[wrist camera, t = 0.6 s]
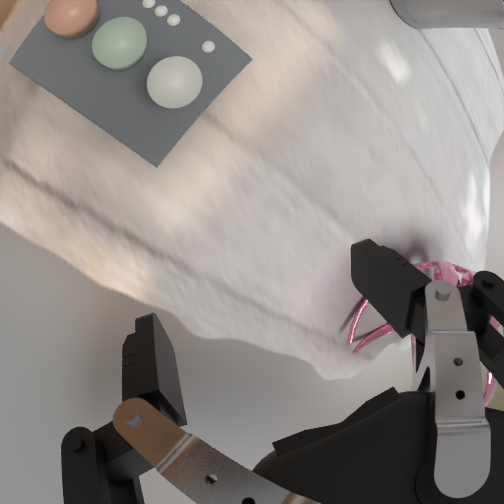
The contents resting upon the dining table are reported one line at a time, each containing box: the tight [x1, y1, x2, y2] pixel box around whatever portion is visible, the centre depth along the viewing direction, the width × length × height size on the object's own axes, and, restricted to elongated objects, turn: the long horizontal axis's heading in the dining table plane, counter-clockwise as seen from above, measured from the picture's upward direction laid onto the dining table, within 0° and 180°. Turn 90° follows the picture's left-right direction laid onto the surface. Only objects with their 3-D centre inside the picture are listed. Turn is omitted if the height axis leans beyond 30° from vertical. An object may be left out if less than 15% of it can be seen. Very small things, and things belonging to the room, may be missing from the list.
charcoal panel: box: [9, 0, 252, 167], centre depth 22 cm, size 14×20×2 cm
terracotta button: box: [44, 0, 100, 39], centre depth 16 cm, size 4×4×3 cm
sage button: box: [92, 17, 147, 71], centre depth 19 cm, size 4×4×3 cm
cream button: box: [147, 56, 202, 108], centre depth 22 cm, size 4×4×3 cm
